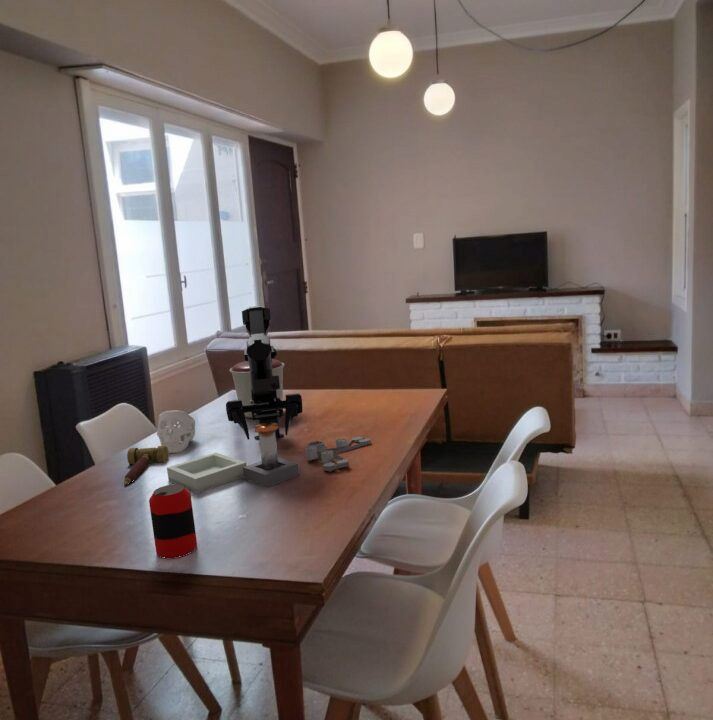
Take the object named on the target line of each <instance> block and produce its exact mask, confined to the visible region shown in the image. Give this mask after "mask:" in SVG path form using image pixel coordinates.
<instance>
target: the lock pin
mask: <svg viewBox="0 0 713 720" xmlns="http://www.w3.org/2000/svg"><path fill="white" fill-rule="evenodd" d="M276 430H278V424H277V423H272V422H269V423H262V424H258V425H257V424H256V425H254V432H255V433H259V439H258V441H259V449H260V458H261V460H260V461H262V469H264V470H267V471H269V470H272V469H275V468H278V467H279V462H278V458H279V454H278V453H279V452H278V445H277V439H276V434H275V431H276Z"/></svg>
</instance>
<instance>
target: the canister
mask: <svg viewBox="0 0 713 720" xmlns="http://www.w3.org/2000/svg"><path fill="white" fill-rule="evenodd" d="M284 367H285V363H284V362H282V361H280V360H278V359H276V358H275V359H272V372H273V376H278V375H279V382H280V389H277V390H276V392H277V397H279V398H280V400H281V401H283V397H284V396H283V395H284V394H283V393H284V391H283V390H284V388H283V387H284V383H283V382H284ZM229 372H230V373H231V376H232V380H233V385H234V388H235V393H236V397H237V400H242V405H245V404H251V400H252V395H251V389H252V387H251V375H250V368H249V362H246V361H245V360H244V361H241V362H238V363H236V364H234V365H233V366H232V367H231V368H230V369H229ZM277 412H279V411H277ZM244 414H245V418H249V419H253V418H252V412H246V413H244ZM255 414H256V413H254V415H255Z"/></svg>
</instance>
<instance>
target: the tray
mask: <svg viewBox="0 0 713 720" xmlns="http://www.w3.org/2000/svg"><path fill="white" fill-rule="evenodd" d="M245 466H247V462H246V461H243V460H239V459H237V458H234V457H231V456H229V455H228V456H227V455H226V454H222V453H220V452H213V453H210V454H207V455H204V456H200V457H196V458H193V459H190V460H187V461H184V462H180V463H177V464H174V465H171V466H168V467H167V466H166V470H167V471H166V472H167V473H166V474H167V477H168V482H169V483H172V482H173V483H172V484H174V483H175V484H176V485H183V486H184V487H185V488H186V489H187V490H188V491H191V492H193V493H195V492H196V493H195V494H199V492H200V493H202V492H205V491H209V490H211V489H213V488H216V487H219V486H223V485H225V484H228V483H230V482H234V481H237V480H240V479H242V478H243V479H244V471H243V467H245ZM175 484H174V485H175Z"/></svg>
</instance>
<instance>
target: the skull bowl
mask: <svg viewBox="0 0 713 720" xmlns="http://www.w3.org/2000/svg"><path fill="white" fill-rule="evenodd" d="M156 431H157V432H156V435H157V437H158V438H159V441H160V446H167V448H168V453H169V454H178V453H181V452H183V451H184V450H186V449H187V448H188V446H189V443H190V442H191V441H193V440H194V438H195V437H196V436H195V435H196V420H195V418H193V417H192V416H191V415H190V414H189V413H187V412H186V411H182V410H177V409H175V410H174V409H173V410H166V411H165V410H164V411H163V412H161V413H160V414H159V415H158V424H157V429H156Z"/></svg>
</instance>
